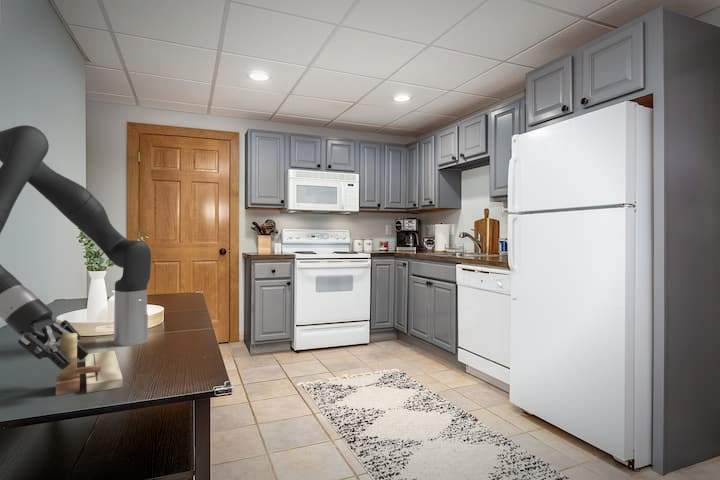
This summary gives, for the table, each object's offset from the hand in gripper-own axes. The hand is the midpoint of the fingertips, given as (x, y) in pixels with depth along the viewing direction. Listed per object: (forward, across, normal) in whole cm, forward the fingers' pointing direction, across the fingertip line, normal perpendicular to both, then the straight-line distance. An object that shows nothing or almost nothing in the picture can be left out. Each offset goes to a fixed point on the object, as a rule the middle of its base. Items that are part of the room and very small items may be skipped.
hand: (76, 361), depth 96 cm
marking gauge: (+5, +1, +4) cm, 6 cm away
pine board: (+5, +10, +4) cm, 12 cm away
